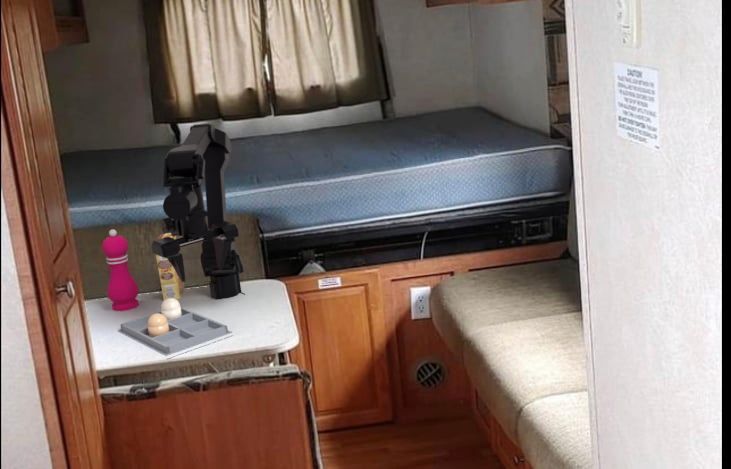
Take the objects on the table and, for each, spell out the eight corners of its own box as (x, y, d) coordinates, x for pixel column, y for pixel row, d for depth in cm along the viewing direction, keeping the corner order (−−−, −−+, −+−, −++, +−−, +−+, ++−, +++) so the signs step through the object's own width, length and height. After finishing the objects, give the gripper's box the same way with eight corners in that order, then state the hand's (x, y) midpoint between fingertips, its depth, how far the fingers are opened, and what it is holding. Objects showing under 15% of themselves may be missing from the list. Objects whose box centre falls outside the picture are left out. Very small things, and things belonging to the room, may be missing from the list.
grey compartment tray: (181, 313, 223) (179, 304, 222) (233, 335, 205) (231, 325, 205) (117, 334, 213) (116, 324, 213) (166, 359, 196) (164, 349, 195)
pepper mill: (133, 314, 226) (119, 233, 220) (105, 315, 227) (91, 234, 222) (146, 303, 232) (132, 224, 227) (118, 304, 234) (105, 226, 229)
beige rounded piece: (164, 331, 210) (160, 309, 209) (173, 335, 207) (170, 313, 205) (145, 337, 207) (142, 314, 206) (155, 342, 204) (151, 319, 203)
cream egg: (176, 315, 219) (173, 293, 218) (185, 319, 216) (182, 297, 215) (159, 320, 217) (155, 299, 215) (168, 325, 214) (165, 303, 212)
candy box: (180, 302, 231) (170, 241, 227) (163, 304, 231) (153, 243, 227) (185, 290, 240) (176, 231, 236) (168, 292, 240) (159, 233, 235)
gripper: (211, 192, 217) (220, 258, 221) (135, 212, 206) (146, 280, 211) (235, 199, 208) (245, 267, 213) (158, 219, 198) (169, 290, 202)
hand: (201, 275), depth 210 cm, fingers open, 9 cm apart
